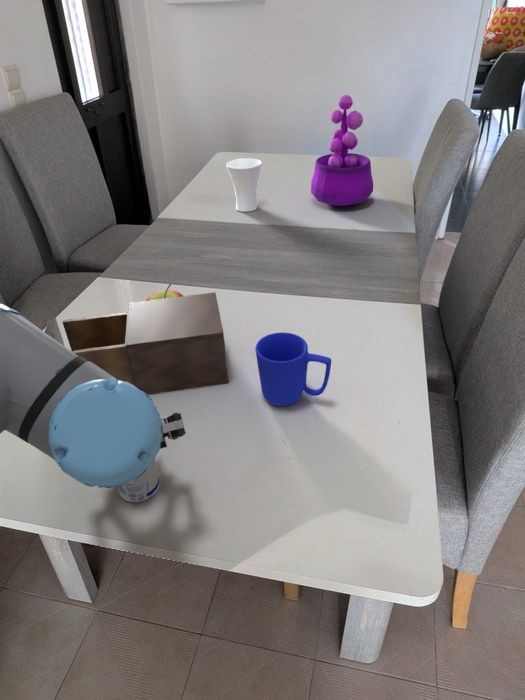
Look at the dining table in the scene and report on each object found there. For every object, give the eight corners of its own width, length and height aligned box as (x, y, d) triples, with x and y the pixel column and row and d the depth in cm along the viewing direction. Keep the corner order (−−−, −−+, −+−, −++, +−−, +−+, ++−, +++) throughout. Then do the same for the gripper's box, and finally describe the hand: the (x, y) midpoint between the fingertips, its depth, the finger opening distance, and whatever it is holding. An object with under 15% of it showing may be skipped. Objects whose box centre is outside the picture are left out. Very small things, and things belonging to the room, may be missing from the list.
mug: (322, 421, 81) (324, 371, 75) (251, 405, 85) (247, 356, 79) (335, 389, 87) (337, 340, 81) (268, 375, 91) (265, 328, 85)
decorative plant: (373, 192, 164) (382, 88, 147) (370, 214, 150) (379, 101, 132) (315, 190, 168) (316, 89, 151) (305, 211, 154) (306, 101, 136)
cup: (254, 216, 152) (251, 169, 144) (223, 212, 156) (219, 166, 148) (269, 204, 160) (267, 159, 152) (239, 200, 164) (236, 156, 156)
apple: (194, 334, 102) (188, 290, 97) (152, 344, 100) (143, 300, 95) (185, 314, 109) (178, 272, 103) (145, 323, 107) (136, 280, 101)
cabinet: (138, 395, 88) (125, 345, 82) (140, 350, 99) (129, 302, 93) (228, 382, 90) (223, 332, 84) (220, 339, 101) (215, 292, 95)
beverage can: (167, 491, 71) (148, 410, 62) (129, 511, 69) (103, 430, 60) (150, 466, 75) (130, 387, 66) (113, 484, 73) (88, 404, 64)
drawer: (20, 406, 86) (2, 364, 81) (34, 362, 96) (19, 322, 91) (139, 389, 88) (128, 347, 83) (140, 348, 98) (131, 308, 93)
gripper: (24, 507, 47) (65, 489, 69) (222, 449, 51) (200, 451, 73) (7, 426, 48) (53, 435, 70) (203, 377, 52) (187, 400, 74)
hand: (129, 443), depth 72 cm, fingers closed on beverage can, 6 cm apart
